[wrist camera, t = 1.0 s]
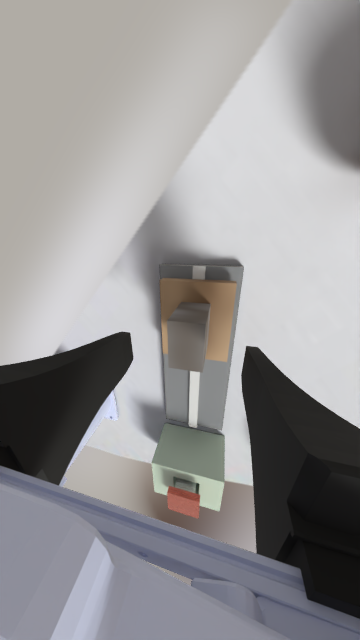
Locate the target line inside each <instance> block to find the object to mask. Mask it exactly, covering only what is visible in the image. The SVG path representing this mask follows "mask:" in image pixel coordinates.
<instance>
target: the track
mask: <svg viewBox="0 0 360 640" xmlns="http://www.w3.org/2000/svg"><path fill="white" fill-rule="evenodd" d="M159 268H160V280H161V279H162V278H177V279H201V280H225V281H236V282H237V286H236V294H235V302H234V310H233V318H232V326H231V334H230V343H229V351H228V359H227V362H223V361H216V360H208V359H205V362H204V368H203V373H201V372H194V371H188V370H181V369H174V368H169V366H168V354H163V357H164V380H165V402H166V419H171V420H175V421H180V422H185V423H189V427H194V428H197V425H199V426H204V427H208V428H213V429H218V430H222V426H223V419H224V411H225V404H226V396H227V389H228V381H229V374H230V367H231V359H232V352H233V344H234V337H235V329H236V322H237V315H238V307H239V300H240V292H241V285H242V278H243V270H244V267H243V266H224V265H183V264H161V265H159Z"/></svg>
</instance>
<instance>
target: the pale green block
mask: <svg viewBox="0 0 360 640" xmlns="http://www.w3.org/2000/svg"><path fill="white" fill-rule="evenodd" d="M224 452H225V436H223V435H218V434H213V433H209V432H204V431H200V430H195V429H190V428H186V427H181V426H177V425H172V424H167V423H165V424H164V427H163V430H162V433H161V436H160V439H159V442H158V445H157V448H156V451H155V454H154V457H153V460H152V472H153V482H154V491H155V492H158V493H161V494H164V495H167V492H168V488H169V486H172V487H175V485H176V480H177V478H180V479H184V480H188V481H191V482H195V483H196V494H199V495H200V506H203V507H207V508H210V509H213V510H216V511H220V505H221V499H222V493H223V487H224Z"/></svg>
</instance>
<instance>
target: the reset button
mask: <svg viewBox="0 0 360 640" xmlns="http://www.w3.org/2000/svg"><path fill="white" fill-rule="evenodd" d="M167 496H168V509H170V510H173V511H176V512H179V513H182V514H186V515H189V516H192V517H195V518H198V516H199V506H200V495H199V494H196V483H195V482H191V481H188V480H184V479H180V478H177V480H176V485H175V487H172V486H169V488H168V492H167Z"/></svg>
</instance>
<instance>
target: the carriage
mask: <svg viewBox="0 0 360 640" xmlns="http://www.w3.org/2000/svg"><path fill="white" fill-rule="evenodd" d="M159 281H160V302H161V324H162V346H163V354H168V366H169V368H174V369H181V370H188V371H194V372H201V373H203V368H204V362H205V359H208V360H216V361H223V362H227V359H228V351H229V343H230V334H231V326H232V318H233V310H234V302H235V294H236V286H237V282H236V281H225V280H201V279H177V278H162V279H161V280H159Z"/></svg>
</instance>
